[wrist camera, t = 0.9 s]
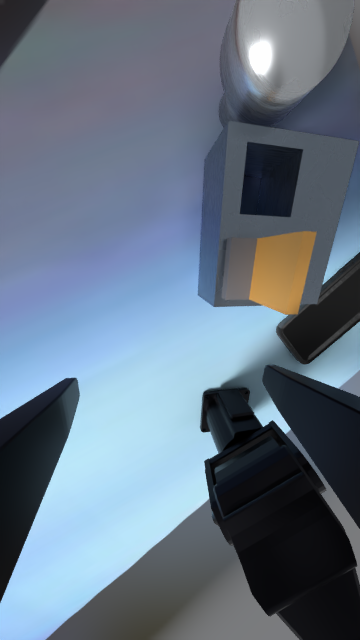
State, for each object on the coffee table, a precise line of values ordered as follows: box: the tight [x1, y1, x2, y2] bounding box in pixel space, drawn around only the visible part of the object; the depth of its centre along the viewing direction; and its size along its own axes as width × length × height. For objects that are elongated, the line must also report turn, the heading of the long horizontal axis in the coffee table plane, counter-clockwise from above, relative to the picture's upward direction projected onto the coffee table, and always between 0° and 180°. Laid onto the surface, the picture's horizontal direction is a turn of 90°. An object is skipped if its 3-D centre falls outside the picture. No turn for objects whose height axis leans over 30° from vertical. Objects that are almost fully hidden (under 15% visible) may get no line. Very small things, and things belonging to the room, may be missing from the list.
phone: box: [276, 253, 360, 364], centre depth 24 cm, size 8×1×15 cm
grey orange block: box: [222, 231, 317, 315], centre depth 13 cm, size 4×3×5 cm, turn 179°
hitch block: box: [198, 121, 359, 307], centre depth 17 cm, size 12×10×5 cm
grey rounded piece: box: [219, 0, 355, 128], centre depth 12 cm, size 6×6×7 cm
